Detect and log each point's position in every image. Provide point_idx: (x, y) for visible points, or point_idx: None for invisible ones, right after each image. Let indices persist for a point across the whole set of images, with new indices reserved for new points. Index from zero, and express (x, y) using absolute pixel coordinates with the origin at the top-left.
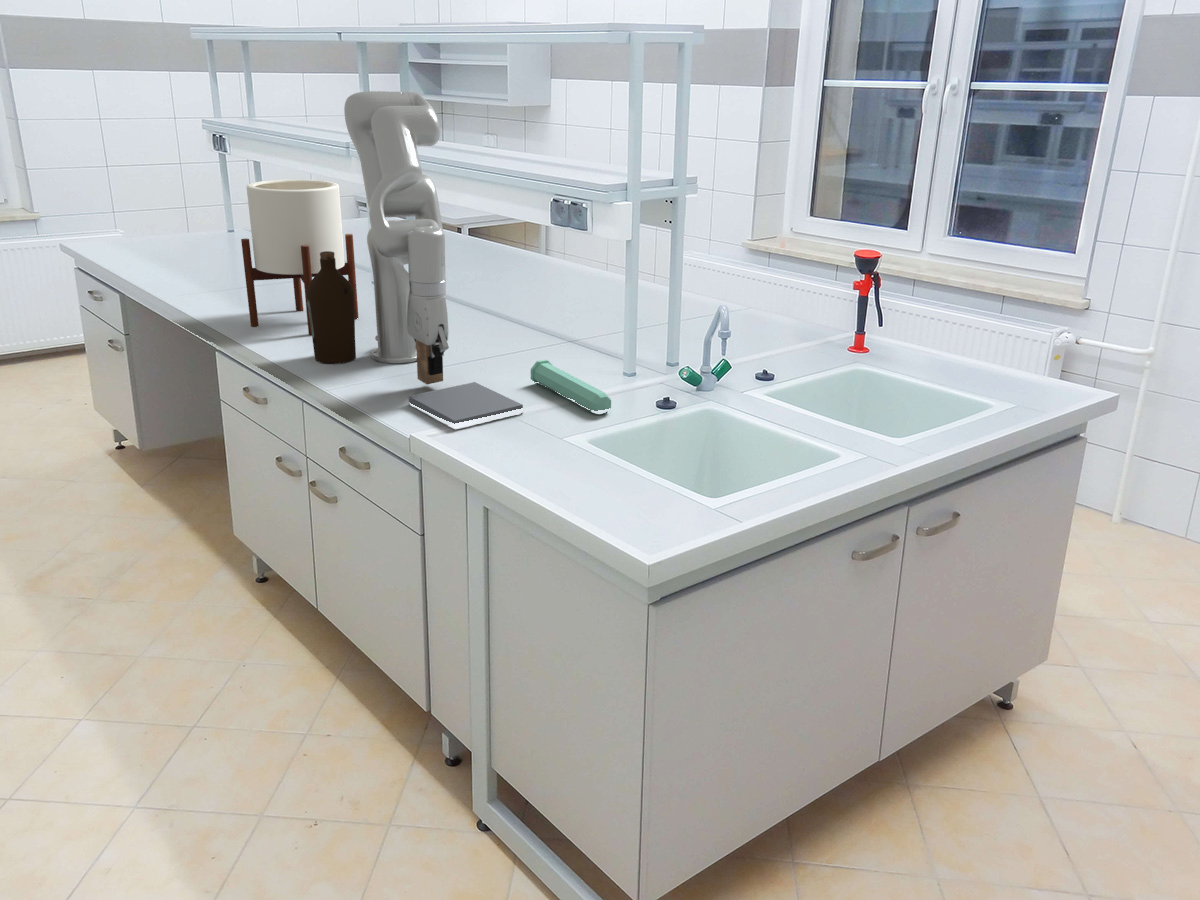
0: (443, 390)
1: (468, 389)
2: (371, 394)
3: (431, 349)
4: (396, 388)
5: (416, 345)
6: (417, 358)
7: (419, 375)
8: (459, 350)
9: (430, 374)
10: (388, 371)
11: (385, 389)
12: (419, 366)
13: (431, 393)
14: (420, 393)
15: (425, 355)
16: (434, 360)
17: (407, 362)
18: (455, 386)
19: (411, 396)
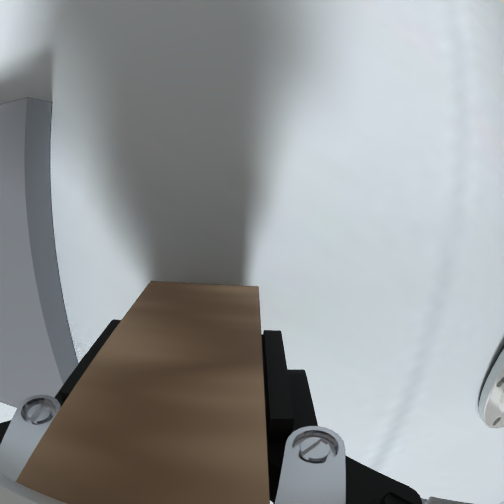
0: (18, 282)
1: (8, 360)
2: (301, 25)
3: (5, 447)
4: (309, 170)
5: (265, 463)
6: (250, 364)
7: (232, 298)
8: (437, 481)
9: (113, 322)
10: (496, 274)
11: (330, 117)
12: (221, 329)
13: (4, 213)
14: (23, 165)
15: (80, 394)
16: (55, 397)
17: (494, 364)
18: (48, 351)
19: (15, 107)
